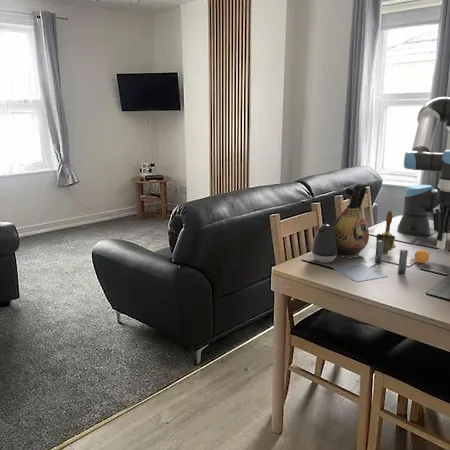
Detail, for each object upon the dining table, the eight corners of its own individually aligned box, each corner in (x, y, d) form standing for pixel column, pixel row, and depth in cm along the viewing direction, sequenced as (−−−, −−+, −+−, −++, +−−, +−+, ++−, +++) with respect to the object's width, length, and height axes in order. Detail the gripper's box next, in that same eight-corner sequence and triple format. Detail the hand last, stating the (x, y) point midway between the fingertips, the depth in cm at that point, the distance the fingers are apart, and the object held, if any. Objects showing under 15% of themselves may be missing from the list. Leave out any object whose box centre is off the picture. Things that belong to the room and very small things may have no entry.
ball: (420, 260, 182) (422, 247, 180) (431, 264, 177) (433, 251, 175) (410, 261, 180) (412, 248, 178) (421, 266, 175) (422, 252, 173)
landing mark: (362, 264, 176) (362, 263, 176) (387, 276, 163) (387, 276, 163) (333, 268, 171) (333, 268, 171) (356, 282, 158) (356, 281, 158)
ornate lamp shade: (376, 249, 194) (378, 232, 192) (394, 252, 190) (396, 234, 188) (372, 254, 188) (374, 236, 185) (391, 257, 184) (393, 239, 182)
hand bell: (392, 243, 204) (396, 209, 200) (397, 248, 196) (401, 213, 192) (374, 242, 205) (377, 208, 200) (378, 248, 197) (381, 212, 192)
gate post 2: (401, 272, 168) (404, 249, 166) (406, 274, 166) (409, 251, 164) (396, 272, 167) (398, 250, 165) (401, 275, 165) (403, 252, 163)
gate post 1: (378, 261, 179) (380, 239, 177) (383, 263, 177) (385, 241, 175) (373, 262, 179) (375, 240, 176) (377, 264, 176) (380, 242, 174)
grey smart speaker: (305, 260, 179) (307, 224, 175) (320, 255, 186) (322, 219, 183) (327, 267, 172) (330, 229, 168) (341, 261, 179) (345, 224, 176)
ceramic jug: (352, 263, 177) (359, 188, 169) (321, 253, 189) (326, 183, 181) (376, 254, 188) (384, 184, 180) (345, 245, 199) (351, 179, 191)
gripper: (444, 192, 168) (435, 252, 174) (469, 190, 173) (460, 249, 179) (428, 189, 175) (421, 247, 181) (453, 187, 180) (444, 244, 186)
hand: (440, 248), depth 180 cm, fingers closed
